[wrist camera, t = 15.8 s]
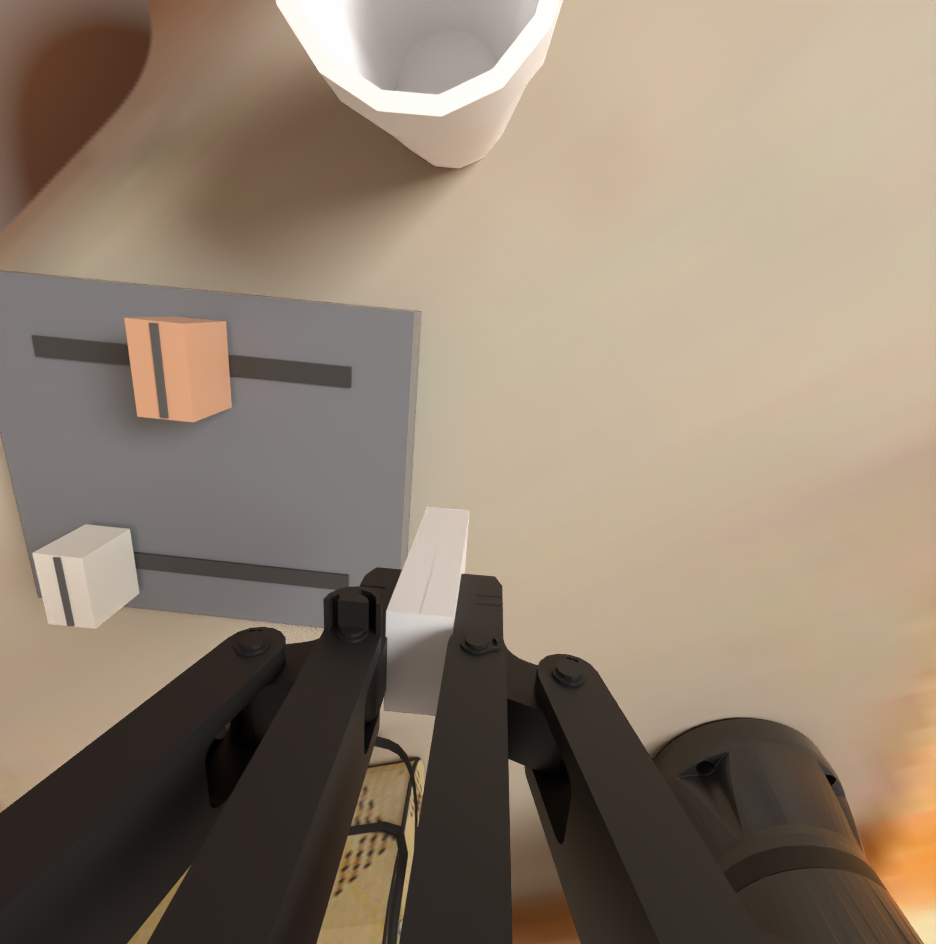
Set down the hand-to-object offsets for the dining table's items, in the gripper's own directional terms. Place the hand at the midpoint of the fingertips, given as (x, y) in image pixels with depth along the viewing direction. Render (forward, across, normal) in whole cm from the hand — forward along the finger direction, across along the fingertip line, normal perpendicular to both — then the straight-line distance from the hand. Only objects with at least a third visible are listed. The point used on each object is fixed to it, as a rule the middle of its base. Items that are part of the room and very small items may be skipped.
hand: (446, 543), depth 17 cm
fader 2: (+13, +16, -4) cm, 21 cm away
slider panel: (+16, +17, +3) cm, 23 cm away
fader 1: (+13, +24, +10) cm, 29 cm away
